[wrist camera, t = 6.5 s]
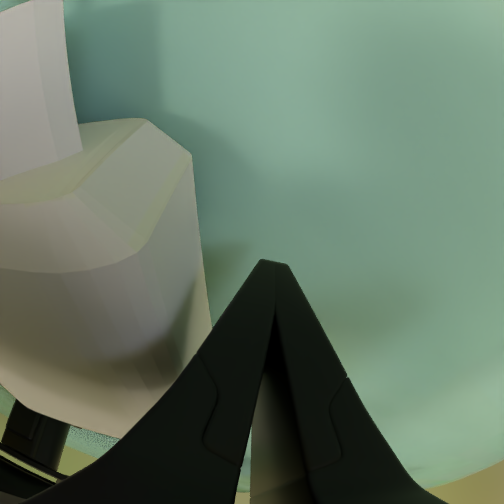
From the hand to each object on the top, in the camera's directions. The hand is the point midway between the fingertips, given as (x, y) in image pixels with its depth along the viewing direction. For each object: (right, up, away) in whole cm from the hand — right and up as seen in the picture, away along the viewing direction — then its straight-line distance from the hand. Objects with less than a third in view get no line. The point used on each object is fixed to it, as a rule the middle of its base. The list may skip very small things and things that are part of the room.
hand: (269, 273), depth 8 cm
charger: (-6, +3, +1) cm, 7 cm away
